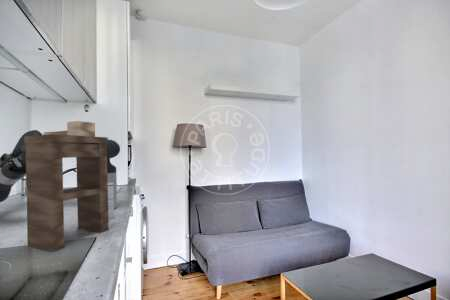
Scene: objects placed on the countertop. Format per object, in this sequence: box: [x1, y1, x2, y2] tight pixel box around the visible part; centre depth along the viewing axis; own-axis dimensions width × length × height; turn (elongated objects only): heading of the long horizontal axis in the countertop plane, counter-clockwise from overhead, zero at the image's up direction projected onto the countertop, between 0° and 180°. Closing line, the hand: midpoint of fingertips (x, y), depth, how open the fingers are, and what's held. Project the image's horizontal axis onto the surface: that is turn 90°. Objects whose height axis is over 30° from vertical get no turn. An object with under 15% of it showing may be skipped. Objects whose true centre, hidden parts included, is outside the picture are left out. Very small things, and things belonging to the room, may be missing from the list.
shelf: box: [24, 134, 110, 253], centre depth 71 cm, size 18×12×32 cm, turn 159°
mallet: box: [42, 120, 96, 137], centre depth 78 cm, size 6×20×5 cm, turn 69°
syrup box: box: [108, 183, 115, 220], centre depth 91 cm, size 6×6×14 cm
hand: (35, 149), depth 83 cm, fingers open, 8 cm apart
